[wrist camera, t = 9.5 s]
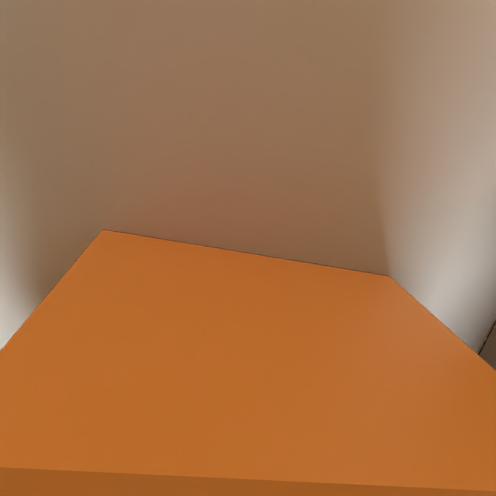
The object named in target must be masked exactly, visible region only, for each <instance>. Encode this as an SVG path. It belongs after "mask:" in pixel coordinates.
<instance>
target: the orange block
mask: <svg viewBox="0 0 496 496" xmlns="http://www.w3.org/2000/svg"><path fill="white" fill-rule="evenodd" d="M0 496H496V371H495V370H494V369H493V368H492V367H491V366H490V365H489V364H488V363H486V362H485V361H484V360H483V359H482V358H481V357H480V356H479V355H478V354H476V353H475V352H474V351H473V350H472V349H471V348H470V347H469V346H467V345H466V344H465V343H464V342H463V341H462V340H461V339H460V338H458V337H457V336H456V335H455V334H454V333H453V332H452V331H451V330H449V329H448V328H447V327H446V326H445V325H444V324H443V323H442V322H441V321H439V320H438V319H437V318H436V317H435V316H434V315H433V314H432V313H430V312H429V311H428V310H427V309H426V308H425V307H424V306H423V305H421V304H420V303H419V302H418V301H417V300H416V299H415V298H414V297H412V296H411V295H410V294H409V293H408V292H407V291H406V290H405V289H404V288H402V287H401V286H400V285H399V284H398V283H397V282H396V281H395V280H393V279H392V278H391V277H390V276H384V275H378V274H372V273H366V272H360V271H354V270H348V269H341V268H335V267H329V266H323V265H317V264H311V263H305V262H298V261H292V260H286V259H280V258H274V257H268V256H262V255H256V254H249V253H243V252H237V251H231V250H225V249H219V248H213V247H206V246H200V245H194V244H188V243H182V242H176V241H170V240H164V239H157V238H151V237H145V236H139V235H133V234H127V233H121V232H114V231H108V230H102V231H101V232H100V234H99V235H98V236H97V237H96V238H95V239H94V241H93V242H92V243H91V244H90V245H89V247H88V248H87V249H86V250H85V251H84V252H83V254H82V255H81V256H80V257H79V258H78V260H77V261H76V262H75V263H74V264H73V265H72V267H71V268H70V269H69V270H68V271H67V273H66V274H65V275H64V276H63V277H62V278H61V280H60V281H59V282H58V283H57V284H56V286H55V287H54V288H53V289H52V290H51V292H50V293H49V294H48V295H47V296H46V297H45V299H44V300H43V301H42V302H41V303H40V305H39V306H38V307H37V308H36V309H35V310H34V312H33V313H32V314H31V315H30V316H29V318H28V319H27V320H26V321H25V322H24V323H23V325H22V326H21V327H20V328H19V329H18V331H17V332H16V333H15V334H14V335H13V336H12V338H11V339H10V340H9V341H8V342H7V344H6V345H5V346H4V347H3V348H2V349H1V351H0Z"/></svg>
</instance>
